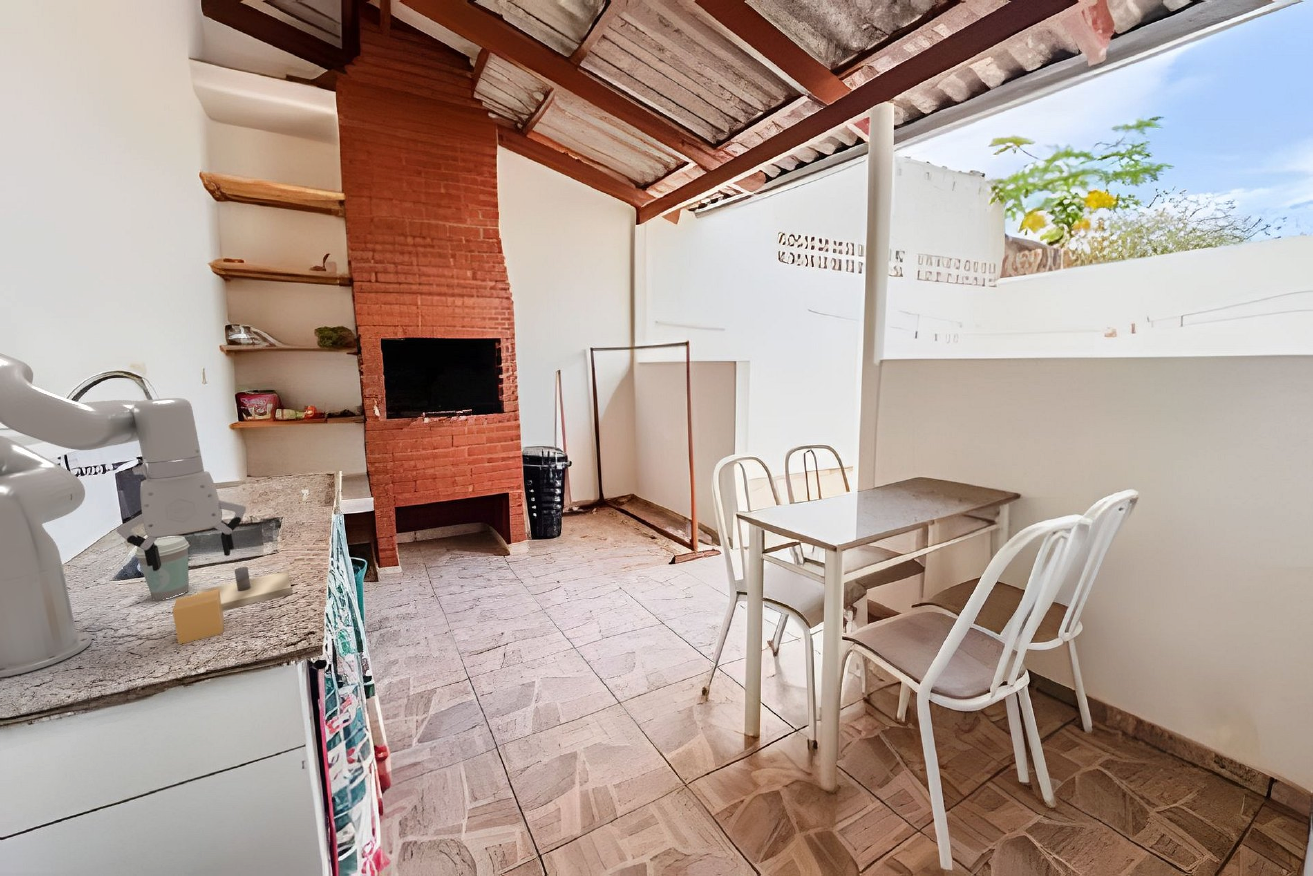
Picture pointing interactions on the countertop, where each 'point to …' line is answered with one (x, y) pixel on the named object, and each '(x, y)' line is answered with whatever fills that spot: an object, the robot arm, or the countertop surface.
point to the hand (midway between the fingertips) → (193, 561)
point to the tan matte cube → (198, 616)
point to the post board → (252, 588)
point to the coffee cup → (167, 568)
